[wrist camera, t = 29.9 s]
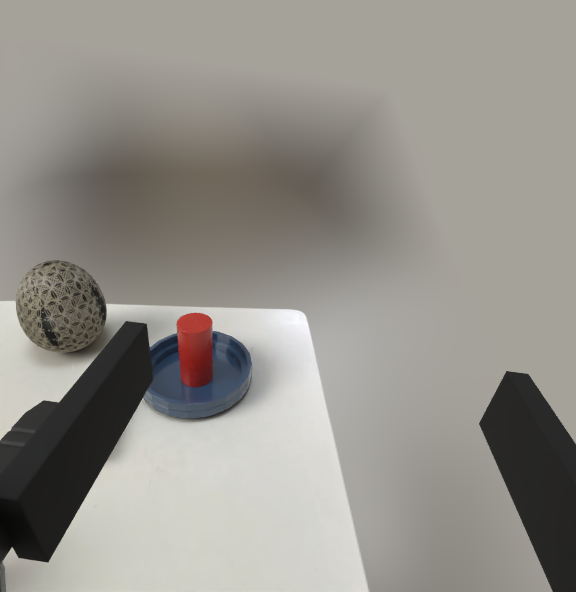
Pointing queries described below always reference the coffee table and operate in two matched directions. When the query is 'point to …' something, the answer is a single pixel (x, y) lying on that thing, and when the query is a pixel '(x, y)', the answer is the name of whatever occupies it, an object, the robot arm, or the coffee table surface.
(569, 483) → the robot arm
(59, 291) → the decorative egg
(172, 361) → the dish
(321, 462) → the coffee table surface
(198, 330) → the cylinder
